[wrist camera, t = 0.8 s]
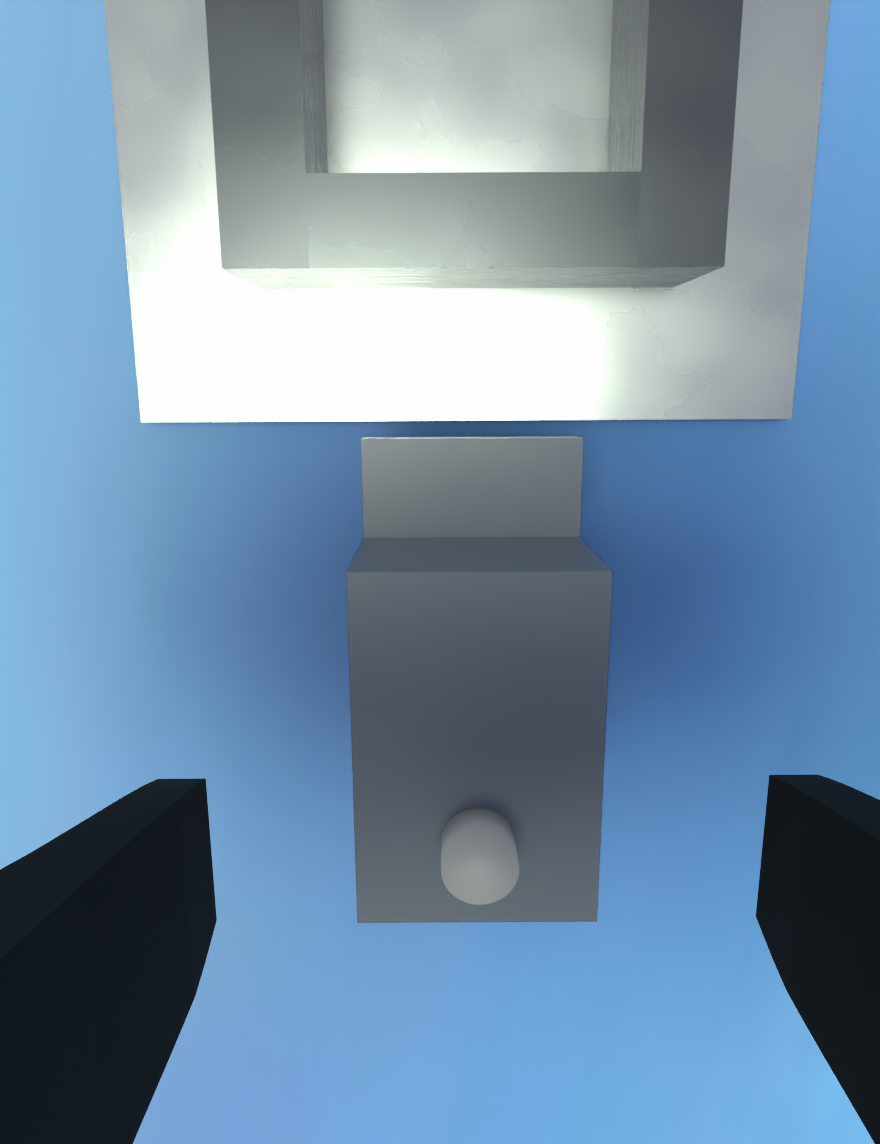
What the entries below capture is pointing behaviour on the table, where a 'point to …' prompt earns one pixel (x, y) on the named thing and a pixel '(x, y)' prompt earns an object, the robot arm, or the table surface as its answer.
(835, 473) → the table surface
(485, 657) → the servo
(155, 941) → the robot arm
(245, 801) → the table surface
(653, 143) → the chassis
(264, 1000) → the table surface
